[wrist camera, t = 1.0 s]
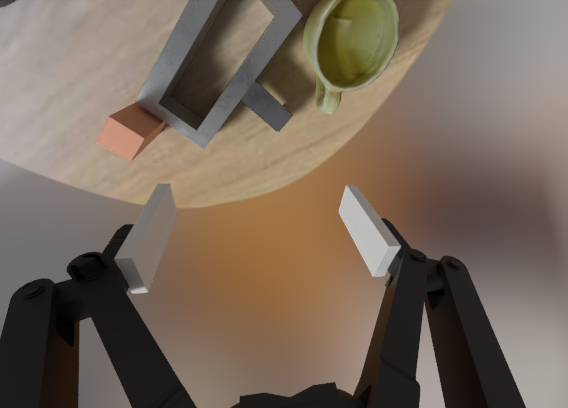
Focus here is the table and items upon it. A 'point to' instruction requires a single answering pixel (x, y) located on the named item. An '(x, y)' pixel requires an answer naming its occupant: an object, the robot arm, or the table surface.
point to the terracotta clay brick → (130, 131)
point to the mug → (349, 45)
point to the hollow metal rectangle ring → (242, 86)
